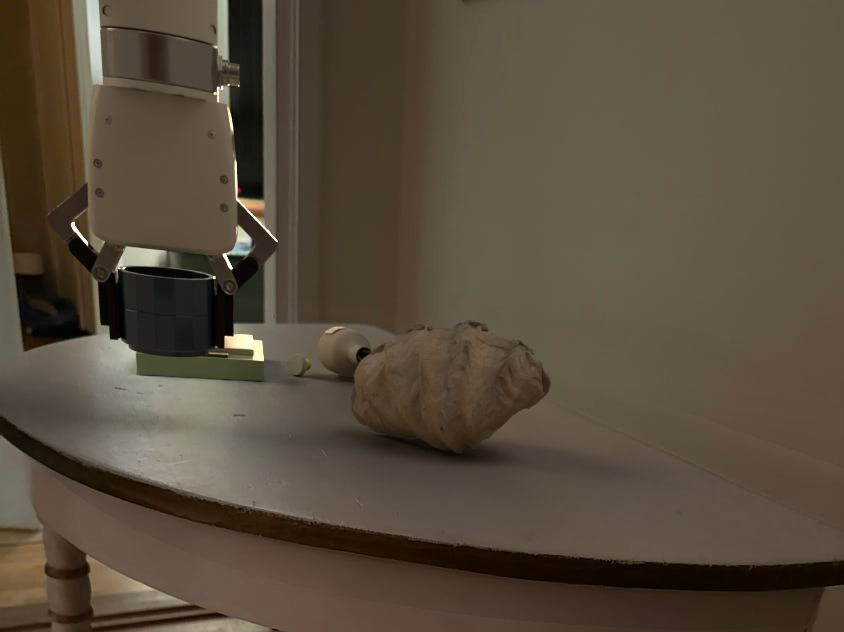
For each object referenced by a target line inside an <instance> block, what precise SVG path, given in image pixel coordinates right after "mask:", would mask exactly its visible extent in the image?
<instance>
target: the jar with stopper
mask: <svg viewBox="0 0 844 632" xmlns="http://www.w3.org/2000/svg"><path fill="white" fill-rule="evenodd" d="M372 351H373V349H372V346H371V343H370V341H369V340H368V338H367V337H366V335H364V334H363V333H362V332H360V331H358V330H355V329H351V328H345V326H333V327H330V328H328V329H326V330H325V331H324V332H323V335H322V336H321V337H320V340H319V342H318V345H317V355H318V359H319V361H320V363H321V365H322V366H323V367H324V368H325V369H326V370H327V371H329V372H332V373H335V374H337V375H340V376H343V377H348V378H352V377H353V378H354V374H355V371H356V369H357V367H358V365H359V363H360V362H361V360H362V359H364V358H365V357H366V356H367V355H368V354H370V353H371V352H372ZM311 367H312V364H311V361H310V359H307V358H306V357H305V356H304V355H303V354H301V353H292V354H291V355H290V356H289V357H288V359H287V368H288V371H289V373H290V374H291V375H292V376H303V375H304V374H305V373H306V372H307V371H309V370H310V369H311Z"/></svg>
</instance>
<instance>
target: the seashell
mask: <svg viewBox="0 0 844 632" xmlns="http://www.w3.org/2000/svg"><path fill="white" fill-rule="evenodd" d="M353 380H354V385H353V387H352V391H351V395H350V400H351V407H350V408H351V413H352V414H353V416H354V418H355V420H356V421H357V422H358V423H359V424H360V425H362V426H365V427H367V428H369V429H371V431H374V432H375V433H378V434H381V435H386V436H396V437H405V438H417V439H420V440H421V441H424V442H425V443H426V444H428V445H429V446H431V447H433V448H434V449H437V450H440V451H445V452H450V451H453V452H454V453H455V454H462V453H463V452H464V449H466V448H469V449H471V450H475V449H477V448H478V447H479V445H480V443H482V441H485V440H489V439H490V438H491V437H492V436H493V435H494V434H495V433H496V432H498V430H500V429H501V428H502V427H503V426H504V425H505V424H506V423H507V422H508V421H510V419H511V418H512V417H513V416H515V415H517V414H518V413H520V412H521V411H523V410H527V409H528V410H530V409H531V408H532V407H534V406H535V405H537V404H538V403H539V402H540V401H541V400H543V399H544V398H545V397H546V396H547V395H548V393H549V392H550V389H551V386H552V379H551V376H550V374H549V373H548V372H547V371H546V369H544V367H543V362H542V360H540V359H538V358H537V357H536V355H535V351H534V350H533V349H532V348H530V347H529V345H527V344H525V343H524V342H523V341H522V340H519V339H514V338H513V339H511V340H510V339H507V338H505V337H503V336H500V335H498V334H495V333H493V332H490V327H489V326H488V325H487V324H486V323H485V322H482V321H479V320H475V319H467V320H466V321H464V322H458V323H456V324H455V325H453V327H451V328H449V327H441V328H438V329H437V328H435V327H434V325H432V324H430V326H428V325H425V324H422V323H420V324H415V325H414V326H412V327H410V328H409V329H408V330H407V331H405V332H404V333H401V334H398V335H395V336H394V337H392V338H390V339H388V340H387V341H386V342H383V343H382V344H380V345H378V346H376V347H374V348H373V349H372V352H371V353H370V354H368V355H367V356H366V357H365V358H364V359H362V360H361V362H360V363H359V365H358V367H357V369H356V371H355V374H354V376H353Z"/></svg>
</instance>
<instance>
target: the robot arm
mask: <svg viewBox="0 0 844 632" xmlns="http://www.w3.org/2000/svg"><path fill="white" fill-rule="evenodd" d="M218 1H219V0H98V14H99V15H98V17H99V28H100V29H99V36H100V37H99V38H100V54H101V55H100V57H101V73H102V74H101V75H102V84H95V83H94V84H92V90H91V96H90V104H89V115H88V133H87V181H86V182H85V183H84V184H83V185H82V186H80V187H79V188H78V189H77V190H75V191H74V192H73V193H72V194H70V196H68V197H67V198H65V199H64V200H63V201H62V202H61V203H60V204H58V205H57V206H56V207H55V208H53V209H52V210H51V211H50V212H48V213H47V214H46V216H45V223H46V225H47V226H48V227H49V228H50V229H51V231H52V232H53V233H54V235H56V237H58V239H59V240H60V241H61V242H62V243H63V244H64V245H65V247H66V248H67V249H68V250H69V252H70V253H71V255H72V256H73V257H74V258H75V259H76V260H77V261H78V262H79V263H80V264H81V265H82V266H83V268H85V269H86V270H87V271H88V272H89V273H90V274H91V276H92V278H93V279H94V280H95V281H96V282H97V292H98V294H97V295H98V309H99V311H98V312H99V322H100V323H99V324H100V326H105V327H108V332H109V333H108V334H109V340H111V341H119V339H121V324H120V305H119V286H118V270H116V269H117V268H118V265H119V263H120V261H121V259H122V256H123V255H124V252H125V250H126V248H138V249H145V250H154V251H155V250H156V251H163V252H171V253H172V252H173V253H183V254H191V255H192V254H193V255H200V256H201V255H204V256H205V258H206V259H207V261H208V263H209V265H210V267H211V269H212V272H213V274H214V276H215V279H216V280H217V283H216V290H215V294H214V325H215V346H216V347H217V348H219V349H224V346H225V336H231V337H234V334H235V294H236V292H238V290H239V289H240V288H241V287H243V286H244V285H245V284H246V283H247V282H249V280H250V279H251V278H252V277H254V276H255V275H256V274H257V273H258V271H259V270H260V269H261V268H262V267H263V265H265V263H266V262H267V261H268V260H269V259H270V258H271V257H272V256H273V255H274V254H275V252H276V251H277V250H278V248H279V244H278V240H277V239H276V238H275V237H274V236H273V235H272V234H271V232H270V231H269V230H268V229H267V228H266V227H265V226H264V225H262V223H261V222H260V221H259V220H258V219H257V218H256V217H255V216H254V215H253V213H251V211H249V210H248V209H247V208H246V207H245V206H244V205H243V204H242V203H241V201H240V200H239V192H238V174H237V154H236V144H235V143H236V142H235V133H234V126H233V119H232V114H231V110H230V105H229V104H226V103H223V102H219V90H223V89H224V88H223V87H227V88H228V87H229V86H234V87H240V64H239V63H233V62H229V59H223V55H220V54H219V50H218V49H219V31H218V29H219V28H218V26H219V24H218V23H219V21H218V20H219V18H218V16H219V15H218V11H219V8H218V7H219V6H218V3H219V2H218ZM87 210H88V219H89V225H90V229H91V232H92V233H93V235H94V236H95V237H97V238H98V239H99V240H101V241H103V245H102V247H101V249H100V251H98V250H97V249H96V248H95V247H94V246H93V245H92V244H91V243H90V242H89V241H88V240H87V239H86V238H84V236H83V235H82V234H81V233H80V231H79V230H78V228H77V227H76V226H75V222H76V219H78V218H79V217H80V216H81V215H82V214H83V213H85V212H86V211H87ZM239 227H240V229H242V230H243V231H244V232H245V233H246V235H247V236H249V238H250V239H251V240H252V241H253V243H254V245H253V247H252V249H251V250H250V251H249V252H248V253H247V254H246V255H245V256H243V258H242V259H240V260H239V262H238V263H237V264H235V266H233V267H232V265H231V263H230V261H229V259H228V257H227V254H228V253H230V252H232V251H234V248H235V246H236V243H237V240H238V232H239Z"/></svg>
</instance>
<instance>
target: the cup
mask: <svg viewBox="0 0 844 632" xmlns="http://www.w3.org/2000/svg"><path fill="white" fill-rule="evenodd" d="M117 276H118V286H119V305H120V324H121V338H120V341H121V342H123V343H125V344H126V345H128V348H129V350H131V351H134V352H135V353H136V352H139V353H143V354H148V355H154V356H162V357H178V358H188V357H200V356H205V355H207V354H209V350H211V349H214V348H215V325H214V294H215V291H216V276H215V275H212V274H209V273H207V272H203V271H197V270H192V269H184V268H178V267H168V266H158V265H157V266H155V265H121V266H119V267H117Z"/></svg>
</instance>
